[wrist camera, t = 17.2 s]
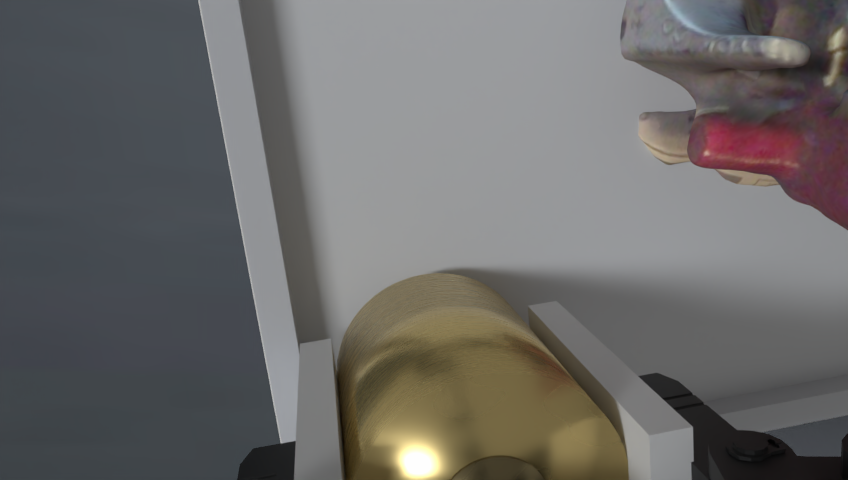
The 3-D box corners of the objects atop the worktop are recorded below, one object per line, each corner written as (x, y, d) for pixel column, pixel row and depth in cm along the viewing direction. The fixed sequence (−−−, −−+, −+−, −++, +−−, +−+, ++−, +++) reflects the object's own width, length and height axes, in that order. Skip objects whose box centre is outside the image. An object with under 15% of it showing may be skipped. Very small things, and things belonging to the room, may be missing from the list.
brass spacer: (351, 471, 18) (370, 660, 12) (322, 290, 17) (327, 404, 11) (536, 435, 19) (637, 600, 13) (521, 258, 17) (626, 351, 12)
